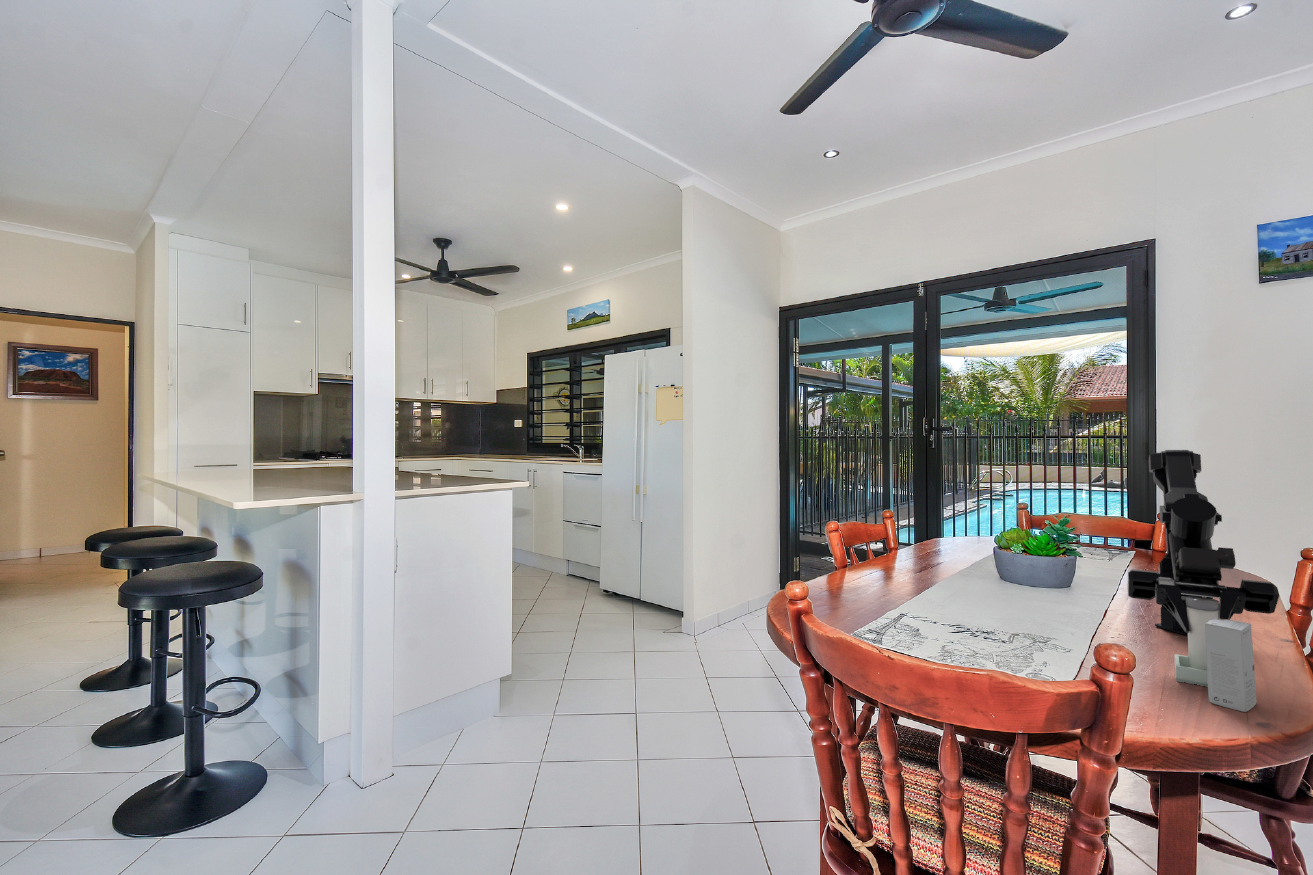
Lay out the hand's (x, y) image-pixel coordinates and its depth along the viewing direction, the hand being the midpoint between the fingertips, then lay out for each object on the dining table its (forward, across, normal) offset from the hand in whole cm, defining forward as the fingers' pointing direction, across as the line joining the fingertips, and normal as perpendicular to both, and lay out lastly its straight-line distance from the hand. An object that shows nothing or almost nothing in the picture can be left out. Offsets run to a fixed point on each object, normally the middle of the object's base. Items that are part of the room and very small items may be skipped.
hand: (1204, 633), depth 94 cm
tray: (+5, 0, +7) cm, 8 cm away
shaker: (+4, 0, +6) cm, 7 cm away
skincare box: (+11, +2, 0) cm, 12 cm away
